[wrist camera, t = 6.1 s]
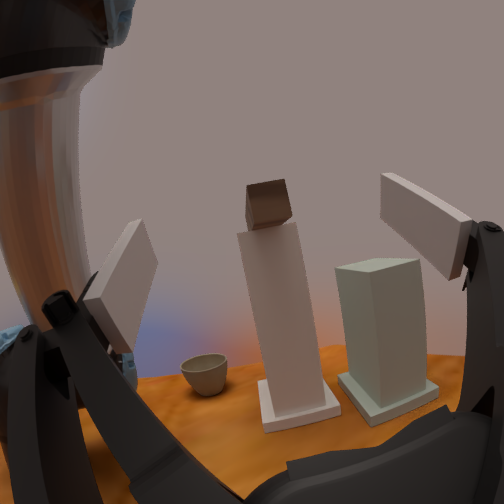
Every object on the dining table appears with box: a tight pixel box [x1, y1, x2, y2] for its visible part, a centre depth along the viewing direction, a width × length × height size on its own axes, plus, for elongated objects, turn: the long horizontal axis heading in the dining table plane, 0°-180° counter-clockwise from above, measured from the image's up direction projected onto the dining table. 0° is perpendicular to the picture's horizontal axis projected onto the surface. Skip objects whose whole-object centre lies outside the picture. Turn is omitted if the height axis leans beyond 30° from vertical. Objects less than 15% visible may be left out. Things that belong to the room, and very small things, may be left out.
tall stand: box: [237, 222, 341, 433], centre depth 45 cm, size 16×12×30 cm
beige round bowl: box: [180, 353, 227, 396], centre depth 55 cm, size 10×10×7 cm
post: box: [335, 258, 439, 427], centre depth 40 cm, size 16×12×22 cm
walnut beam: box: [245, 179, 292, 231], centre depth 41 cm, size 24×4×4 cm, turn 2°
